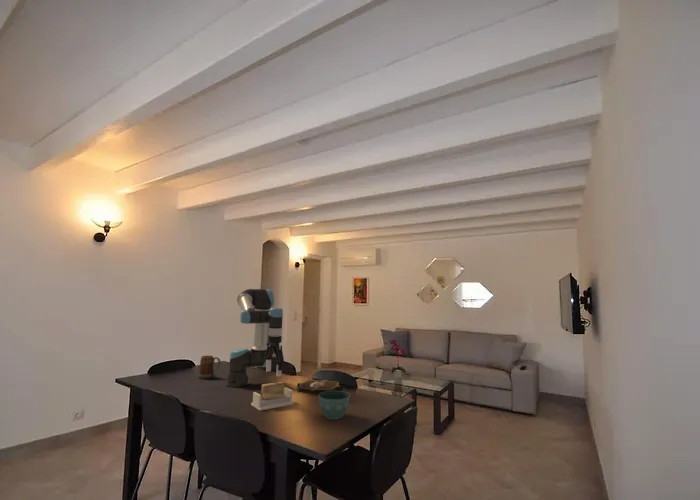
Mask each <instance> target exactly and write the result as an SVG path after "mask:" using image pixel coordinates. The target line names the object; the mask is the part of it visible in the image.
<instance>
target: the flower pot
mask: <svg viewBox="0 0 700 500" xmlns="http://www.w3.org/2000/svg"><path fill="white" fill-rule="evenodd" d="M350 398H351V394H350V393H349V392H347V391H343V390H341V391H326V392H322V393H320V394H318V403H319V407H320V409H321V411H322V413H323V415H324V418H325V419H328V420H332V421H333V420H339V419H343V417H344V415H345V413H346V411H347V410H348V408H349V404H350Z"/></svg>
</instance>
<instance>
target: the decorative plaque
mask: <svg viewBox="0 0 700 500" xmlns="http://www.w3.org/2000/svg"><path fill="white" fill-rule="evenodd" d="M296 387H297V388H298V392H299V393H301V392H302V393H301V394H310V395H312V396H314V395H319V394H320V393H322V392H326V391H343V390H342V385H340V382H339V381H334V380H327V379H320V380H319V379H308V380H305V381H303V382H297V386H296Z"/></svg>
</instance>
